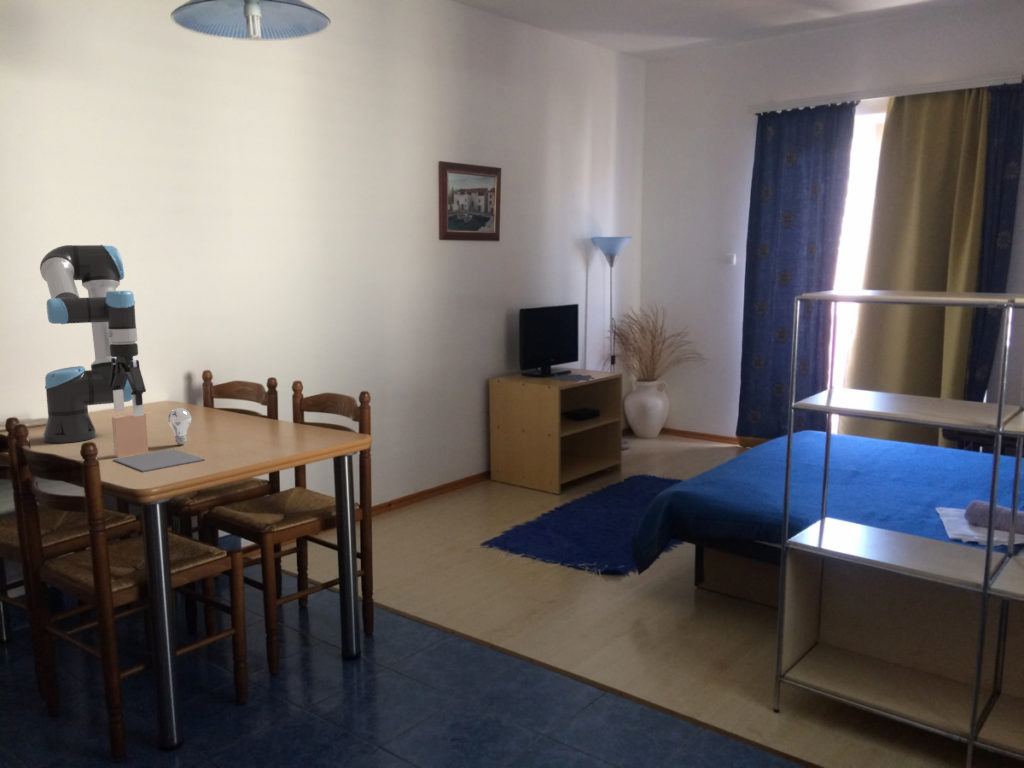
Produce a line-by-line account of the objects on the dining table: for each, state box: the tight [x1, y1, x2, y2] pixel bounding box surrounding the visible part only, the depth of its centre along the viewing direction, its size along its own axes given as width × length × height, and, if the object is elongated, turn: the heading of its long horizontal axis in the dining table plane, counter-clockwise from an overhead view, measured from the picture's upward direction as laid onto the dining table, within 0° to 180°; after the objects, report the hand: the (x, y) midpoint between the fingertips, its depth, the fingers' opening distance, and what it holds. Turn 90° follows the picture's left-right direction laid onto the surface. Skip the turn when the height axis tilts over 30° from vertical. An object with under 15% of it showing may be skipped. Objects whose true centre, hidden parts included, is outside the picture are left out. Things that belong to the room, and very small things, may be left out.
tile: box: [111, 413, 149, 458], centre depth 248 cm, size 2×9×12 cm, turn 137°
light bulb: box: [167, 407, 192, 446], centre depth 260 cm, size 7×7×12 cm
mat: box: [113, 448, 205, 473], centre depth 241 cm, size 20×18×1 cm
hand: (128, 413), depth 247 cm, fingers open, 13 cm apart
